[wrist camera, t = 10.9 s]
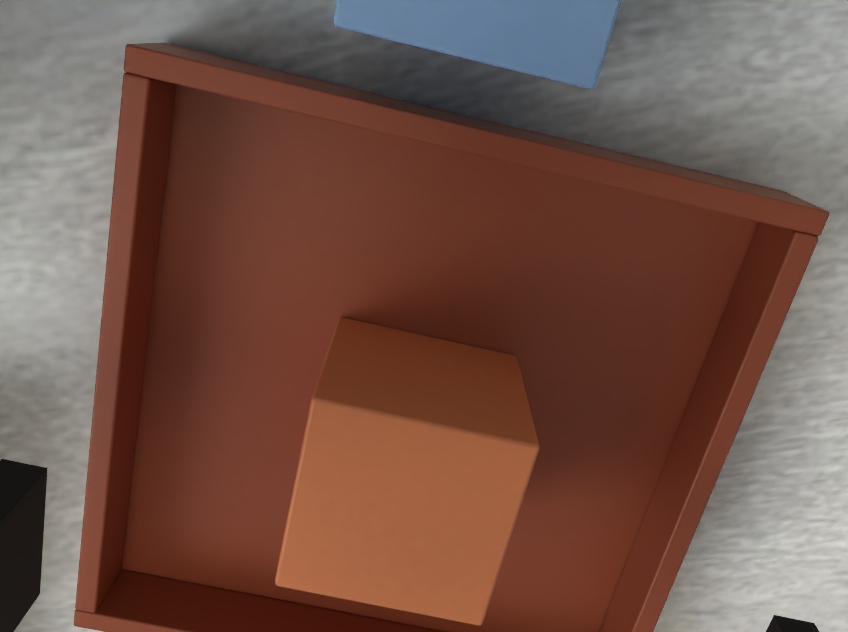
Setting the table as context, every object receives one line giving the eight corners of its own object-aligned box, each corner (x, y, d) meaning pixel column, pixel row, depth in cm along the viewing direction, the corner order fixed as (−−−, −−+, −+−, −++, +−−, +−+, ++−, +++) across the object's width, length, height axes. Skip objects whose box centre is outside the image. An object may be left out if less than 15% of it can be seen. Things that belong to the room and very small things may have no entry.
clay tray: (162, 41, 19) (124, 43, 17) (786, 191, 20) (831, 212, 18) (106, 571, 24) (72, 626, 22) (597, 666, 25) (613, 728, 23)
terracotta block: (339, 315, 21) (311, 397, 16) (517, 354, 21) (541, 446, 16) (306, 471, 22) (273, 586, 18) (472, 505, 23) (482, 628, 18)
